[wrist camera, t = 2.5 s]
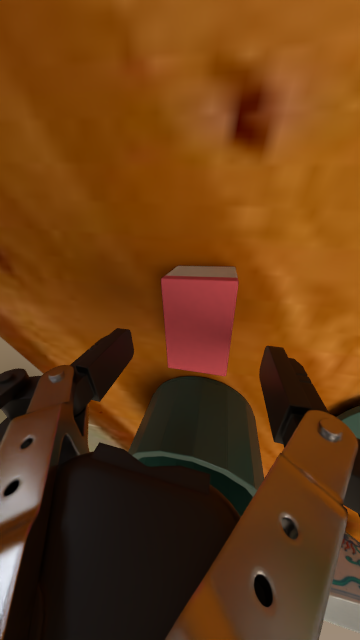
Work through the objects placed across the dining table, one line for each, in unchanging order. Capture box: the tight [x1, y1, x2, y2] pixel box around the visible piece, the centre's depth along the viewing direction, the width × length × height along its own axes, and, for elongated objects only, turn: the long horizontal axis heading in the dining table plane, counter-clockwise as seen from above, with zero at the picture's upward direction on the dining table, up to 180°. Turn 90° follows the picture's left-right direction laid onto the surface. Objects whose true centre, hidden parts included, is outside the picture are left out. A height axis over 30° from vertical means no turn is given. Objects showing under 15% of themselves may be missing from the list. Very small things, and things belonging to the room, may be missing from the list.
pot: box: [128, 376, 264, 517], centre depth 18 cm, size 12×12×8 cm
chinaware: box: [324, 531, 360, 633], centre depth 24 cm, size 15×15×8 cm
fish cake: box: [161, 266, 239, 376], centre depth 13 cm, size 7×4×4 cm, turn 2°
